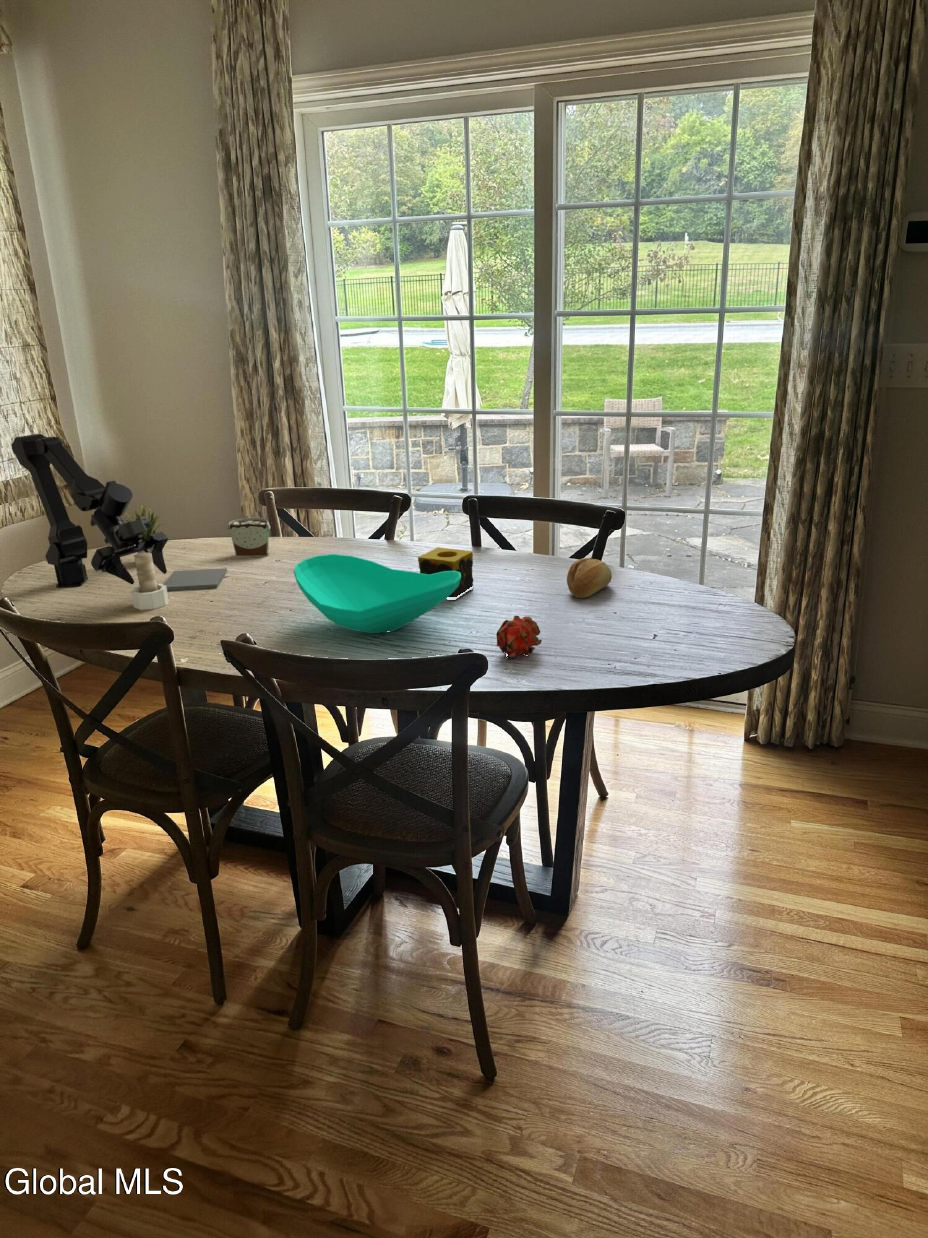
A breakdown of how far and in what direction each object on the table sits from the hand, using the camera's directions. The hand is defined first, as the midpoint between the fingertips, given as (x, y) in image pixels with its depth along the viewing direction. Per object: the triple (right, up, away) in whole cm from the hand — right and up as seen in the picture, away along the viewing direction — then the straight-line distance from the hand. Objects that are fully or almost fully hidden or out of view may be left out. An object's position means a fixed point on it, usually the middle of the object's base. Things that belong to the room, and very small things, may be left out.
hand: (149, 577), depth 206 cm
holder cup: (-1, -6, +3) cm, 7 cm away
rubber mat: (+5, 0, +19) cm, 20 cm away
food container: (+15, +9, +43) cm, 46 cm away
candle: (+71, -4, +4) cm, 72 cm away
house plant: (-15, +7, +39) cm, 42 cm away
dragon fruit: (+86, -17, -34) cm, 94 cm away
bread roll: (+106, -4, +1) cm, 106 cm away
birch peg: (-1, -6, +3) cm, 7 cm away
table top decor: (+57, -12, -17) cm, 61 cm away
